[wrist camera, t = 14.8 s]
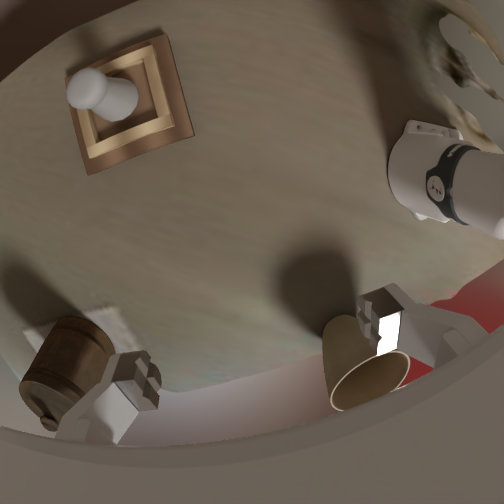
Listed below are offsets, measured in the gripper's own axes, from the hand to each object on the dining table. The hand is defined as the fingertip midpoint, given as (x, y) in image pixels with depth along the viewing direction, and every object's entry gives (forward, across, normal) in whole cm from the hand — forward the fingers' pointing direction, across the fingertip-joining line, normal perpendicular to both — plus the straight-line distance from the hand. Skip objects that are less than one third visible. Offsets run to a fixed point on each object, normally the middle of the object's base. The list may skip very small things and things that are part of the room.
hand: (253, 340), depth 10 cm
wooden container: (+31, +37, +21) cm, 53 cm away
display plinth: (+32, +11, -16) cm, 37 cm away
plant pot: (+33, -14, +32) cm, 48 cm away
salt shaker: (+29, +11, -16) cm, 35 cm away
